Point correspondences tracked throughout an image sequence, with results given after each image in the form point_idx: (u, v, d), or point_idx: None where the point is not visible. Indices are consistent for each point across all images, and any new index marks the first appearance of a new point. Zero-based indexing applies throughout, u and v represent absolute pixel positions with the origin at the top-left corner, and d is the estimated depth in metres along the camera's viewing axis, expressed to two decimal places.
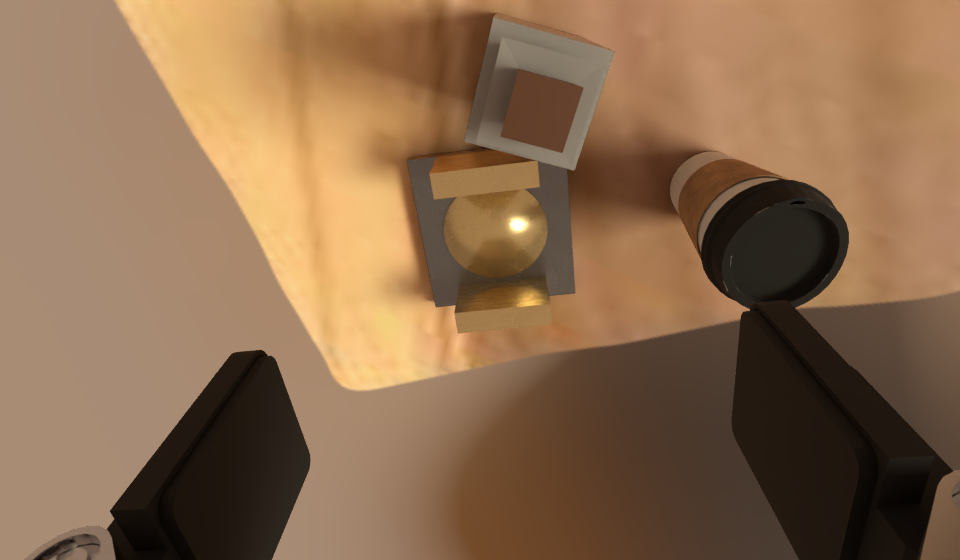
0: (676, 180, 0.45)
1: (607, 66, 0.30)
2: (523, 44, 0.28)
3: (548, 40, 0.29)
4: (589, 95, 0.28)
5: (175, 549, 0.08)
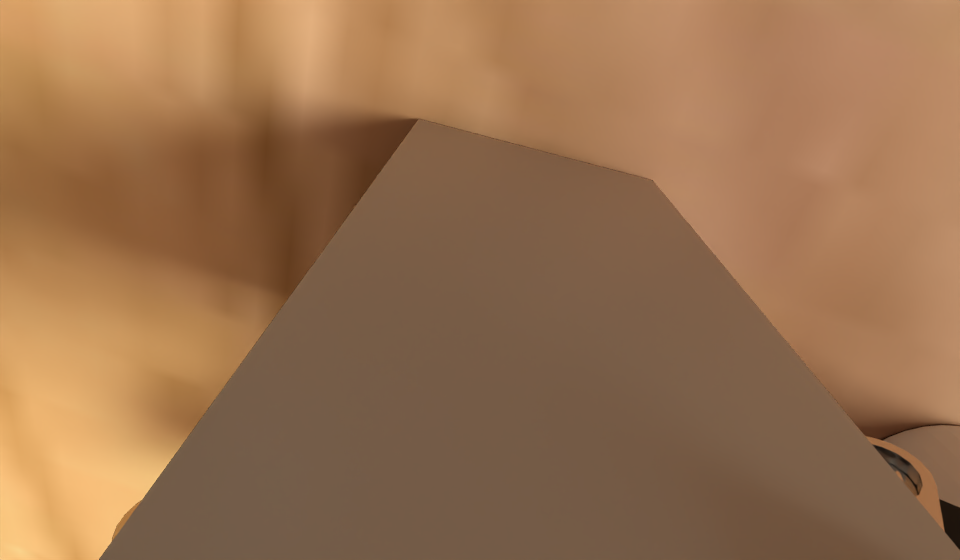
0: None
1: None
2: None
3: None
4: None
5: None
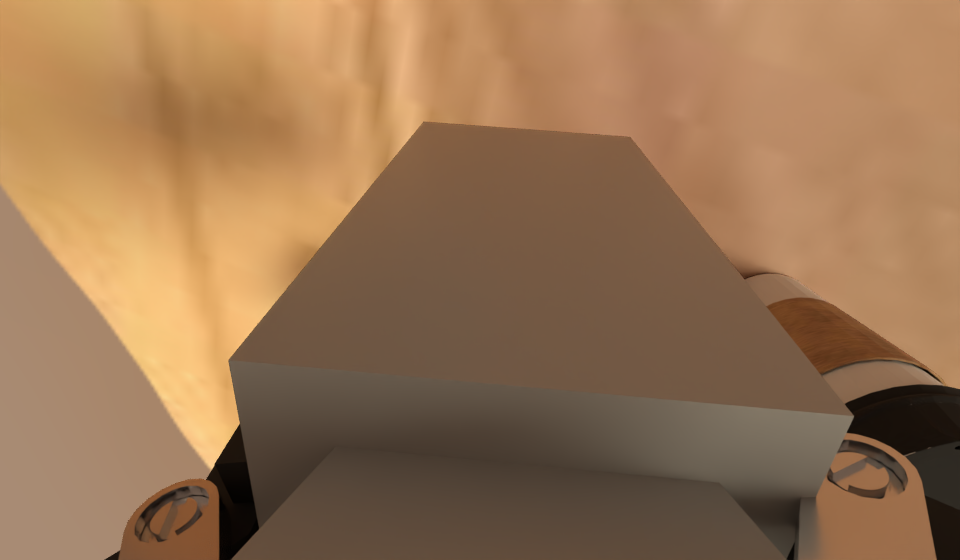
0: None
1: (817, 471, 0.06)
2: None
3: (511, 410, 0.06)
4: None
5: None
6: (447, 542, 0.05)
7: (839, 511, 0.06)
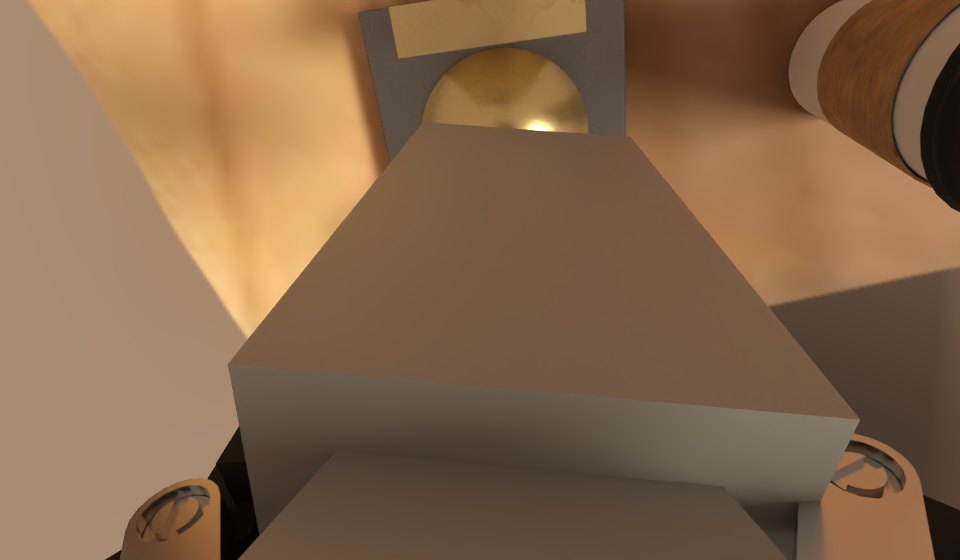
0: (807, 43, 0.27)
1: (822, 474, 0.06)
2: None
3: (513, 414, 0.06)
4: None
5: None
6: (450, 548, 0.05)
7: (837, 511, 0.06)
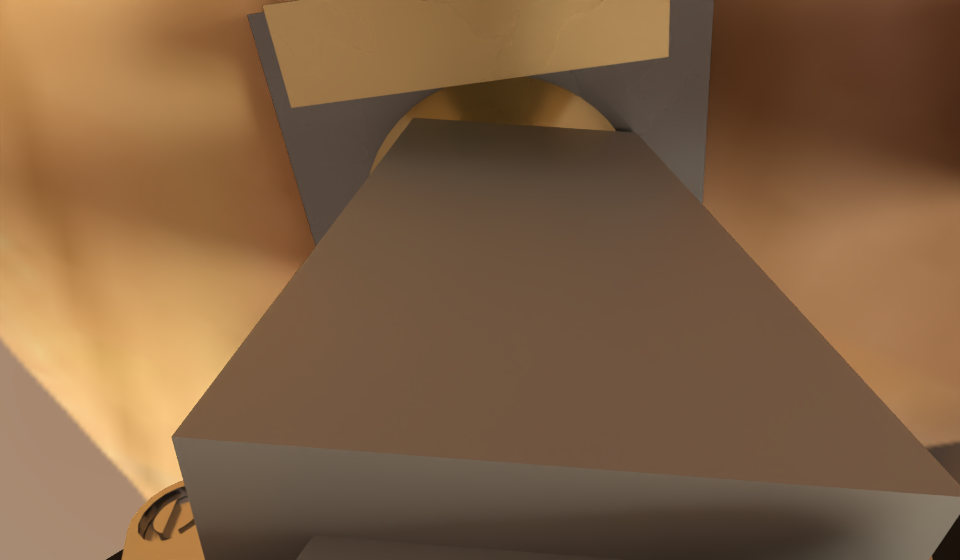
0: None
1: (915, 559, 0.05)
2: None
3: (534, 492, 0.05)
4: None
5: None
6: None
7: None
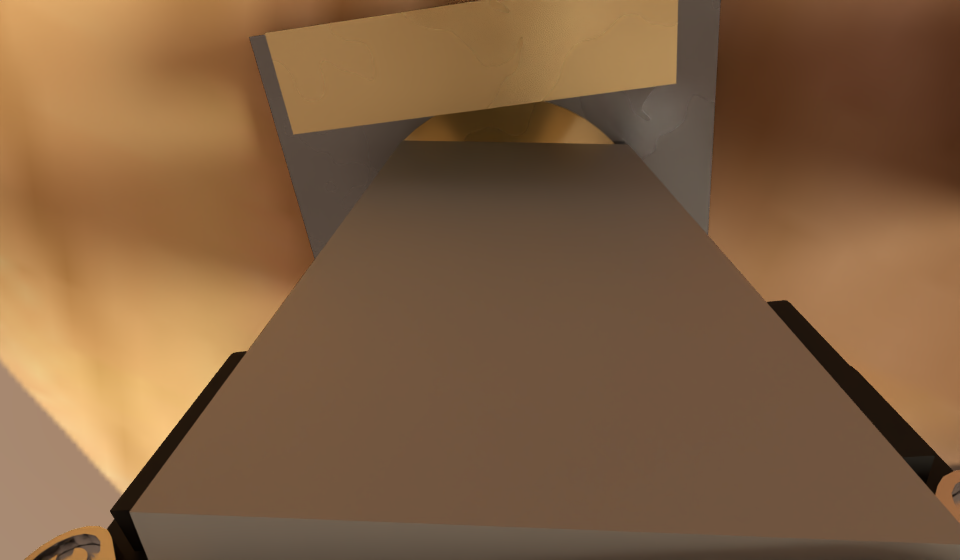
0: None
1: None
2: None
3: (512, 555, 0.05)
4: None
5: None
6: None
7: None
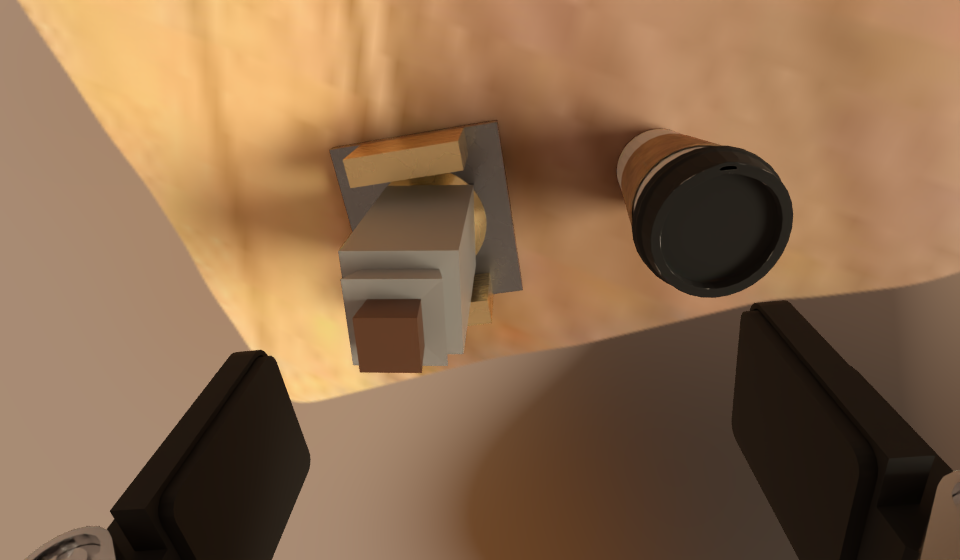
0: (621, 161, 0.41)
1: (457, 263, 0.31)
2: (361, 280, 0.29)
3: (394, 256, 0.31)
4: (439, 305, 0.29)
5: (175, 549, 0.08)
6: (380, 275, 0.30)
7: None
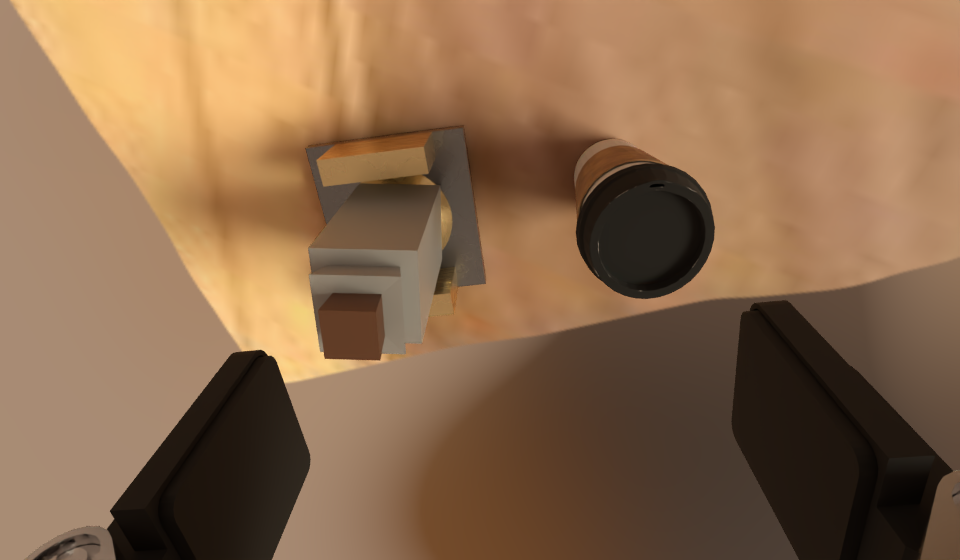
0: (577, 168, 0.44)
1: (416, 262, 0.34)
2: (328, 276, 0.32)
3: (359, 254, 0.34)
4: (397, 300, 0.33)
5: (175, 549, 0.08)
6: (346, 271, 0.33)
7: None
